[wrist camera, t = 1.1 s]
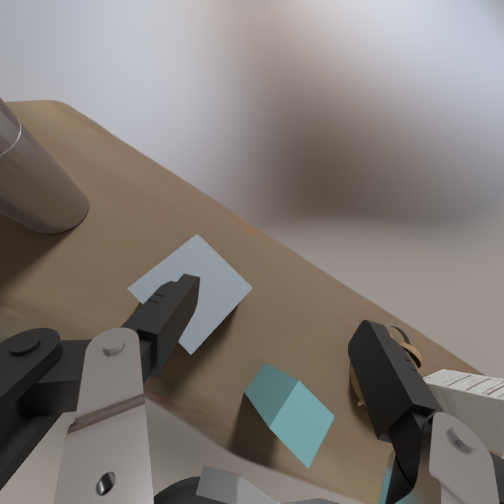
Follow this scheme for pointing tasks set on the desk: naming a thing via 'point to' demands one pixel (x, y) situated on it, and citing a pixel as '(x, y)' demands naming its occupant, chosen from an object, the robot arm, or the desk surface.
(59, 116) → the desk surface
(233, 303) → the tower top
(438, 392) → the supplement box
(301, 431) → the teal block
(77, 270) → the desk surface
